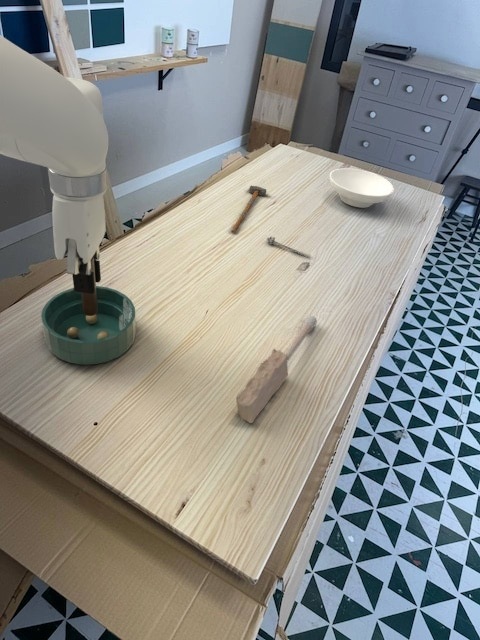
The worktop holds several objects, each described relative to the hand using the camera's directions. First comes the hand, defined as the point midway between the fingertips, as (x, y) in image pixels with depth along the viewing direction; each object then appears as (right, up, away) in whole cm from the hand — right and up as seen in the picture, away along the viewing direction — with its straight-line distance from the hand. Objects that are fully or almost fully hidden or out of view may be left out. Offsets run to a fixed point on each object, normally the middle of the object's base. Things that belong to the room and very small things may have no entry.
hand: (87, 285), depth 76 cm
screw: (+36, +12, +40) cm, 55 cm away
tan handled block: (+32, -14, +8) cm, 36 cm away
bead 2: (-2, -5, +8) cm, 10 cm away
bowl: (+60, +30, +67) cm, 95 cm away
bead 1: (-4, -8, +5) cm, 10 cm away
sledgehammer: (+27, +24, +53) cm, 64 cm away
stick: (-1, -4, +4) cm, 6 cm away
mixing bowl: (-2, -9, +7) cm, 11 cm away
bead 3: (+1, -9, +5) cm, 10 cm away
